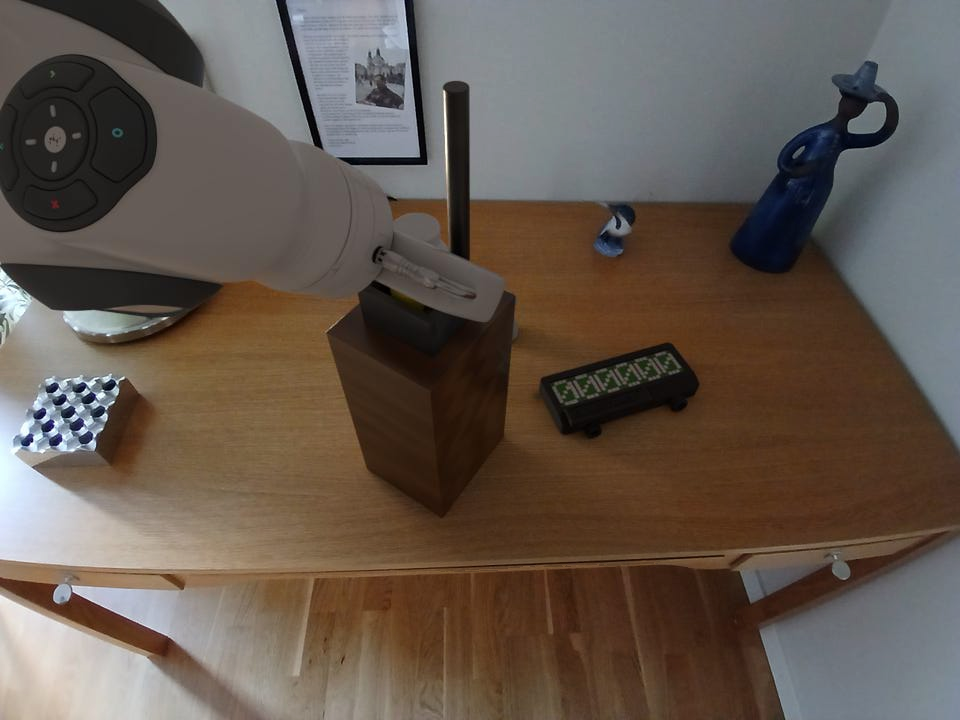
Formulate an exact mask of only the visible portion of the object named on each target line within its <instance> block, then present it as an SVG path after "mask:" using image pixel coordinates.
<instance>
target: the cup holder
mask: <svg viewBox="0 0 960 720" xmlns="http://www.w3.org/2000/svg"><path fill="white" fill-rule="evenodd" d="M470 90H471V87H470V85H469V83H467V82H465V81H462V80H450V81H447V82H445V83H444V84H443V85H442V103H443V105H442V107H443V129H444V131H443V132H444V156H445V158H444V159H445V179H446V180H445V183H446V207H447V232H448V233H447V234H448V250H449V252H451V253H453V254H455V255H457V256H459V257H462V258H464V259H466V260H468V261H470V262H471V168H470V167H471V159H470V158H471V154H470V153H471V150H470V149H471V142H470V141H471V140H470V139H471V137H470V135H471V134H470V133H471V126H470V125H471V124H470V123H471V122H470V121H471V119H470V118H471V117H470V113H471V111H470V110H471V109H470V108H471V107H470V106H471V104H470V99H471V98H470V96H471V95H470V94H471V93H470ZM505 290H506V289H504V292H503V294H502V297H501V299H500V302H499V304H498V306H497V308H496V310H495V312H494V314H493V316H492V317H491V319H490V320H489V321H487V322H478V321H474V320H470V319H466V318H462V317H458V316H454V315H451V314H447V313H444V312H441V311H439V310H436V309H433V310H432V311H431V312H430V313H429V314H428V315H427V314H425V313H423V312H421V311H419V310H417V309H415V308H413V307H411V306H409V305H407V304H405V303H403V302H401V301H399V300H397V299H395V298H393V297H391V291H390V287H388V286H386V285H384V284H382V283H380V282H378V281H376V280H373V281H372V282H371V283H370V284H369V285H368V286H367V287H366V288H364V289H363V290H362V291H360V292H358V293H356V294H357V299H358V303H357V304H356V305H355V306H354V307H353V308H351V310H349V311H348V312H347V313H346V314H344V315H343V316H342V317H341V318H340V319H339V320H338V321H336V322H335V324H333V325H332V326H331V327H330V328H329V329H327V331H325V334H326V337H327V340H328V344H329V347H330V350H331V354H332V357H333V361H334V365H335V367H336V371H337V374H338V377H339V380H340V381H339V382H340V383H341V388H342V390H343V393H344V397H345V401H346V403H347V408H348V410H349V415H350V418H351V421H352V424H353V427H354V430H355V431H354V432H355V434H356V437H357V439H358V441H357V442H358V445H359V447H360V452H361V454H362V457H363V461H364V464H365V467H366V469H367V470H368V471H370V472H371V473H372V474H373V475H376V477H379V478H380V479H382V480H383V481H385V482H386V483H388V484H389V485H391V486H392V487H394V488H396V489H397V490H398V491H400V492H401V493H404V494H405V495H406V496H408V497H409V498H411V499H412V500H414V501H415V502H417V503H419V504H420V505H422V507H425V508H426V509H427V510H429V511H431V513H434V514H435V515H437V516H438V517H440V518H441V519H443V518H444V517H445V516H446V514H447V513H448V512H449V511H450V510H451V508H452V506H453V505H454V504H455V503H456V501H457V500H458V498H459V497H460V495H461V494H462V493H463V492H464V491H465V489H466V488H467V486H468V485H469V484H470V482H471V481H472V479H473V478H474V477H475V475H476V474H477V473H478V472H479V470H480V469H481V467H482V466H483V465H484V463H485V462H486V461H487V459H488V458H489V457H490V456H491V454H492V453H493V452H494V450H495V449H496V447H497V446H498V445H499V443H500V442H501V441H502V439H503V438H504V436H505V427H506V415H507V407H508V394H509V393H508V392H509V381H510V368H511V360H512V359H511V358H512V346H513V340H512V336H513V324H514V319H515V312H516V305H515V301H516V298H517V295H516V294H514V293H513V294H511V293H510V291H508V290H507V291H505Z"/></svg>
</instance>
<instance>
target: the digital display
mask: <svg viewBox="0 0 960 720" xmlns="http://www.w3.org/2000/svg"><path fill="white" fill-rule="evenodd" d="M699 387H700V381H699V378H698V376H697V374H696V373H695V371H694V370H693V368H692V367H691V366H690V364H688V362H687V361H686V359H685V358H684V357H683V355H682V354H681V353H680V352H679V350H678V349H677V348H676V346H674V344H673V343H672V342H668V341H666V342H663V343H659V344H656V345H652V346H649V347H645V348H642V349H638V350H635V351H631V352H628V353H624V354H620V355H617V356H612V357H609V358H606V359H602V360H599V361H595V362H592V363H588V364H584V365H581V366H578V367H574V368H570V369H567V370H563V371H559V372H555V373H553V374H549V375H545V376H542V377H541V378H540V381H539V387H538V393H539V396H540V397H541V400H542V401H543V404H544V405H545V407H546V408H547V410H548V412H549V415H550V417H551V418H552V420H553V422H554V424H555V425H556V428H557V430H558V431H559V433H560V434H562V435H563V436H564V435H565V436H566V435H570V434H574V433H576V432H579V431H584V433H585V435H586V437H587V438H589V439H595V438H597V437H599V436H600V435H601V434H602V432H603V428H602V427H601V425H602V424H606V423H608V422H613V421H615V420H619V419H622V418H625V417H628V416H631V415H634V414H638V413H642V412H644V411H648V410H651V409H654V408H657V407H661V406H665V405H668V404H669V406H670V407H671V409H672V410H673V411H675V412H681V411H683V410H684V409H686V408H687V406H688V404H689V403H688V400H687V399H688V398H690V397H693V396H695V395H696V393H697V392H698V389H699Z"/></svg>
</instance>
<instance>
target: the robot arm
mask: <svg viewBox="0 0 960 720" xmlns="http://www.w3.org/2000/svg"><path fill="white" fill-rule="evenodd" d="M204 78H205V60H204V57H203V54H202V53H201V51H200V49H199V48H198V46H197V44H196V43H195V42H194V40H193V38H192V37H191V36H190V35H189V33H188V32H187V31H186V30H185V28H184V27H183V25H182V24H181V22H179V20H177V18H176V17H175V16H174V14H173V13H171V11H169V9H168V8H167V7H166V6H165V5H164V4H163V3H162V2H161V1H159V0H0V269H1V270H2V272H4V274H6V275H7V277H8V278H9V279H10V280H11V281H13V283H14V284H16V285H17V286H18V287H19V288H21V290H23V291H24V292H25V293H27V294H28V295H29V296H31V297H32V298H33V299H35V300H36V301H38V302H40V304H42V305H44V306H45V307H47V308H48V309H50V310H52V311H59V312H84V311H85V312H86V311H97V312H104V313H105V312H106V313H113V314H120V315H127V316H133V317H141V318H142V317H143V318H144V317H145V318H172V317H178V316H183V315H186V314H188V313H189V312H191V311H193V310H194V309H196V308H197V307H199V306H201V305H202V304H204V303H206V302H207V301H209V300H210V299H211V298H213V297H214V296H215V295H216V294H218V292H220V291H221V290H222V288H224V285H223V283H241V282H246V281H253V282H255V283H258V284H259V285H262V286H263V287H265V288H268V289H270V290H274V291H277V292H283V293H290V294H295V295H301V296H302V295H303V296H309V297H314V298H315V297H316V298H320V299H321V298H323V299H327V300H329V299H330V300H340V299H345V298H349V297H352V296H354V295H356V294H357V293H358V292H360V291H362V290H363V289H364V288H366V287H367V286H368V285H369V284H370V283H371V282H372V281H373V280H376V281H378V282H380V283H382V284H384V285H386V286H388V287H390V288H392V289H394V290H396V291H398V292H400V293H402V294H404V295H406V296H408V297H410V298H412V299H414V300H416V301H418V302H420V303H422V304H424V305H426V306H428V307H431V308H433V309H436V310H439V311H441V312H444V313H447V314H451V315H454V316H458V317H462V318H466V319H470V320H474V321H478V322H487V321H489V320H490V319H491V317H492V316H493V314H494V312H495V310H496V308H497V306H498V304H499V302H500V299H501V297H502V294H503V292H504V290H506V289H505V288H506V279H505V278H504V277H503V276H502V275H500V274H499V273H498V272H497V273H496V272H495V271H493V270H491V269H488V268H486V267H483V266H481V265H479V264H477V263H475V262H473V261H471V260H470V261H468V260H466V259H464V258H462V257H459V256H457V255H455V254H453V253H451V252H448V251H446V250H444V249H442V248H439V247H437V246H435V245H433V244H431V243H428V242H426V241H424V240H422V239H420V238H417V237H415V236H413V235H411V234H408V233H406V232H404V231H402V230H400V229H397V228H395V227H393V222H394V218H393V216H394V215H393V211H392V208H391V204H390V202H389V199H388V197H387V195H386V193H385V191H384V189H383V188H382V187H381V185H380V184H379V183H378V182H377V180H375V178H373V177H372V176H371V175H370V174H368V173H366V172H365V171H363V170H361V169H359V168H357V167H356V166H354V165H351V164H350V163H348V162H347V161H344V160H342V159H340V158H338V157H337V156H335V155H333V154H331V153H329V152H327V151H325V150H323V149H322V148H320V147H318V146H315V145H313V144H311V143H309V142H306V141H302V140H294V139H288V138H287V137H286V135H285V134H284V133H283V132H282V131H281V130H280V129H278V128H277V127H276V125H274V124H273V123H272V122H270V121H268V120H267V119H266V118H263V117H262V116H260V115H258V114H257V113H254V112H253V111H251V110H249V109H247V108H245V107H243V106H241V105H239V104H237V103H235V102H233V101H231V100H229V99H227V98H226V97H223V96H220V95H218V94H216V93H214V92H212V91H210V90H207V89H206V88H204Z"/></svg>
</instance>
